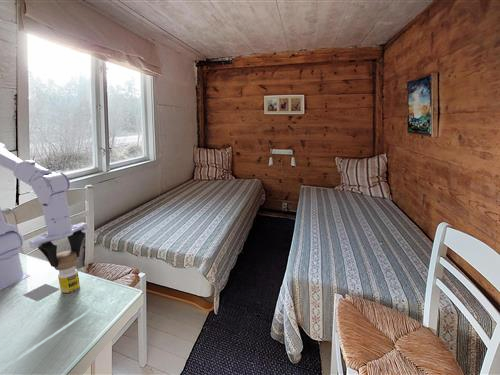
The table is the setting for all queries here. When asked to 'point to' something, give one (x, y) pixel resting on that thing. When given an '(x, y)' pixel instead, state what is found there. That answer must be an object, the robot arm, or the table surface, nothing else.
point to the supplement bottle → (69, 281)
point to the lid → (66, 260)
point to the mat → (41, 292)
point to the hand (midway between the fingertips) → (65, 261)
